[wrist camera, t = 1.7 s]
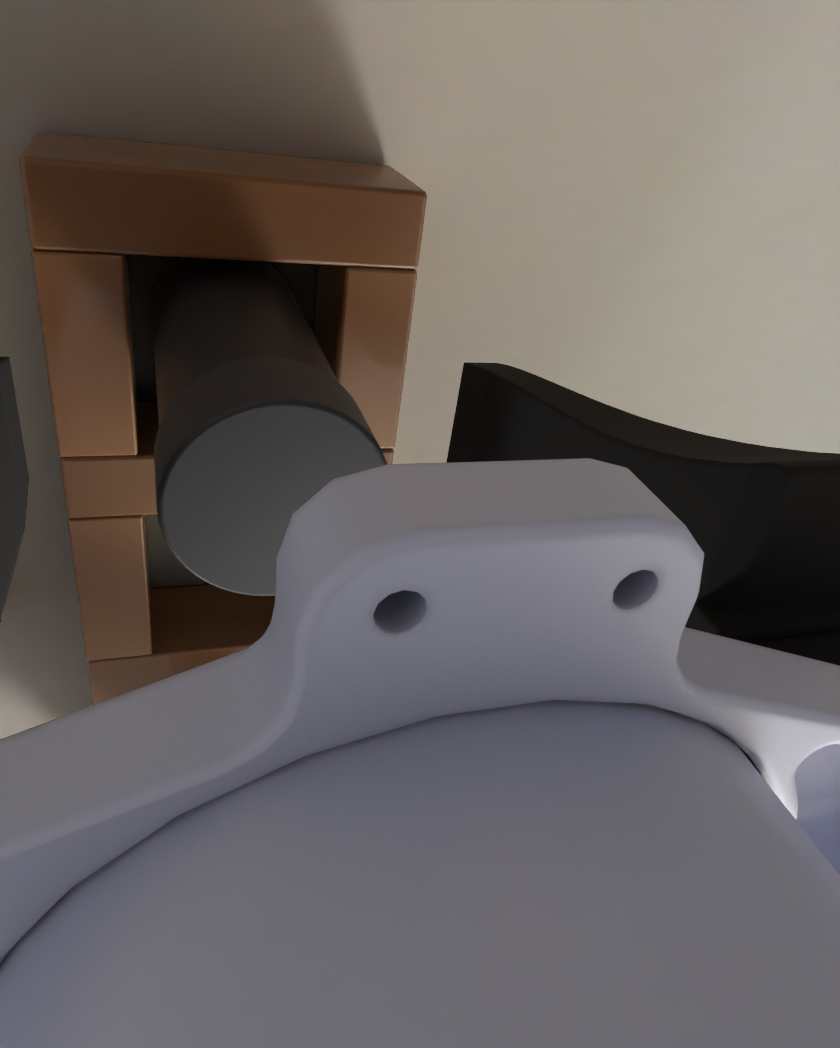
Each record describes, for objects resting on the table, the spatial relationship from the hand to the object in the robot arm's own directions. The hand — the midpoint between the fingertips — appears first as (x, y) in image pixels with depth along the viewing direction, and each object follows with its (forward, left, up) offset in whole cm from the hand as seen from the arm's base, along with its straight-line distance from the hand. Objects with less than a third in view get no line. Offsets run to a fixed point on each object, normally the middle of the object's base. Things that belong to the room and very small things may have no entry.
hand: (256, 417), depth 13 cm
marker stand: (-5, 0, -5) cm, 7 cm away
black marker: (0, 0, -5) cm, 5 cm away
